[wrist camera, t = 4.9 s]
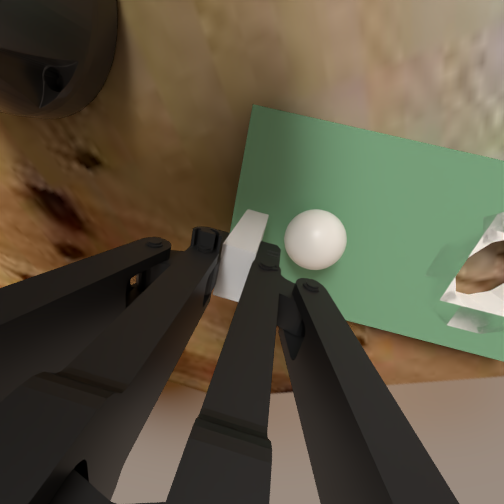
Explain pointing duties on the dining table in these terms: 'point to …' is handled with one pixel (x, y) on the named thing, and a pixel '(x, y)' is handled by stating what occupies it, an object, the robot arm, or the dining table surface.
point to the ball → (315, 239)
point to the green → (383, 223)
